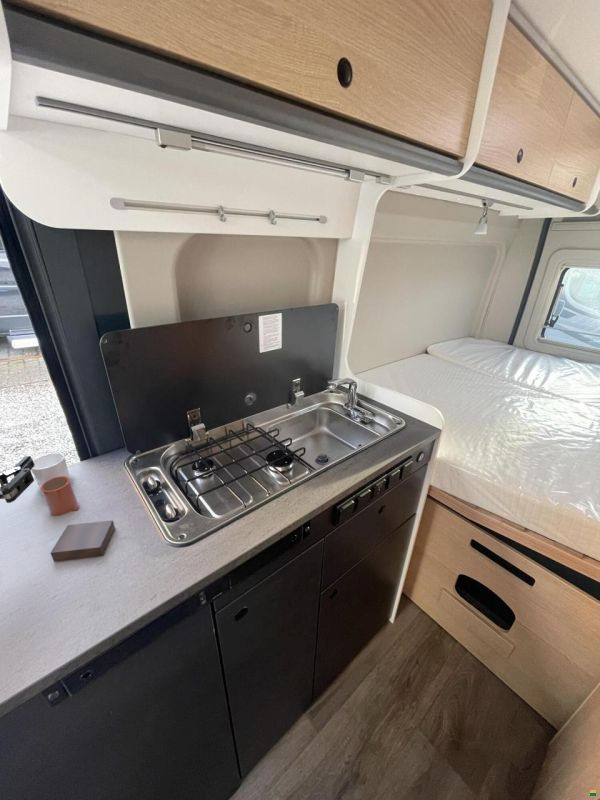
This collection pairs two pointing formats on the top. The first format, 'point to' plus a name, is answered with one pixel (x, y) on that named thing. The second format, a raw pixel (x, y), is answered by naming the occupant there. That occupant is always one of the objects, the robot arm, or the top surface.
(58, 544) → the walnut block
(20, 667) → the top surface
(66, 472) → the white cup
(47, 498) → the canister
